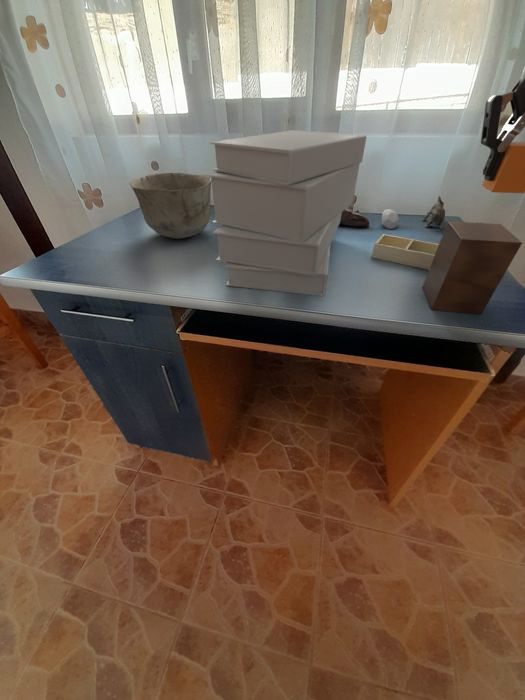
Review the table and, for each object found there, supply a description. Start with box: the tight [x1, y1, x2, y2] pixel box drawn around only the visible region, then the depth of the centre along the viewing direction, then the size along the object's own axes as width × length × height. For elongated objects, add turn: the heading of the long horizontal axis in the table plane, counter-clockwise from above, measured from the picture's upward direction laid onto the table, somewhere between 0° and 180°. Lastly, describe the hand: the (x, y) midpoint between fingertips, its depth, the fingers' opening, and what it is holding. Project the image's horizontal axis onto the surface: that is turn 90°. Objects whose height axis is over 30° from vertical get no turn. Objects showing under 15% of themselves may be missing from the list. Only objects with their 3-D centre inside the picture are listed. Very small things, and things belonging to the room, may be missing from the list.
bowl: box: [129, 172, 212, 240], centre depth 85 cm, size 22×22×15 cm
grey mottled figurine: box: [421, 196, 446, 230], centre depth 91 cm, size 12×6×7 cm, turn 158°
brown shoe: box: [339, 207, 370, 228], centre depth 94 cm, size 6×12×11 cm
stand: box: [422, 220, 523, 316], centre depth 56 cm, size 9×9×14 cm
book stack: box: [206, 129, 367, 297], centre depth 68 cm, size 30×35×26 cm
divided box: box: [371, 233, 439, 271], centre depth 73 cm, size 8×22×4 cm, turn 57°
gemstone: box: [381, 208, 400, 230], centre depth 93 cm, size 6×6×5 cm
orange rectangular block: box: [481, 141, 525, 194], centre depth 45 cm, size 4×4×6 cm
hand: (506, 179), depth 46 cm, fingers closed on orange rectangular block, 4 cm apart
